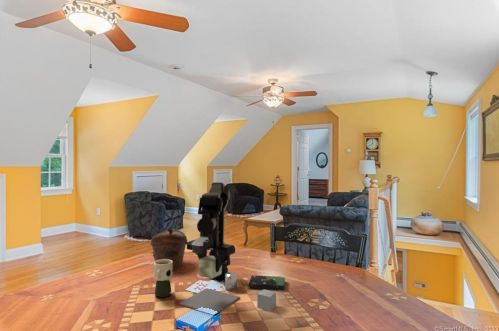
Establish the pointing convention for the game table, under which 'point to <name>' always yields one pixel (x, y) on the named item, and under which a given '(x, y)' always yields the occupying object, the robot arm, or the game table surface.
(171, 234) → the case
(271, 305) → the slate block
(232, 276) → the metal tin
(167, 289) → the character mug
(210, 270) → the sage block
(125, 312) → the game table surface
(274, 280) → the disk drive
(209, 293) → the mat
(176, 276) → the game table surface
